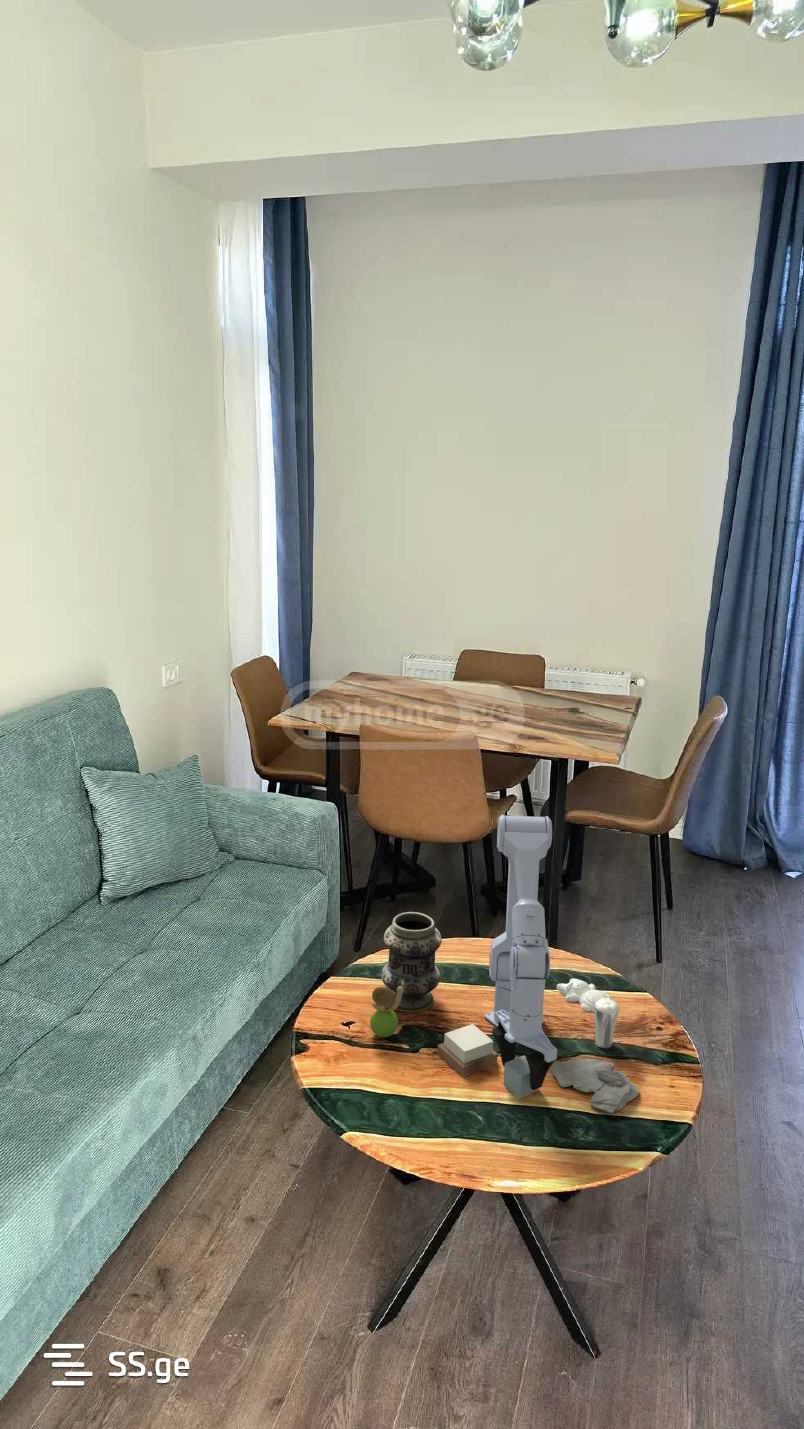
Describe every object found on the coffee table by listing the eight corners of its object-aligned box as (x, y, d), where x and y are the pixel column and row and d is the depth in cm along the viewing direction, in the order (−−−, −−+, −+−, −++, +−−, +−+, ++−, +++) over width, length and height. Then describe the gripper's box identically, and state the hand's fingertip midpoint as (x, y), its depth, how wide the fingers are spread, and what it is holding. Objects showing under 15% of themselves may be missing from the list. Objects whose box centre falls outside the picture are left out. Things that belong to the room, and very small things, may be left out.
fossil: (650, 1092, 169) (649, 1080, 169) (609, 1123, 163) (609, 1110, 162) (577, 1053, 182) (576, 1042, 181) (537, 1080, 175) (536, 1069, 175)
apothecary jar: (451, 999, 198) (454, 920, 193) (413, 1023, 189) (415, 941, 184) (407, 978, 205) (409, 902, 201) (368, 1000, 197) (370, 921, 192)
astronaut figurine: (580, 980, 207) (581, 968, 206) (620, 1007, 197) (621, 994, 197) (549, 991, 203) (550, 978, 202) (588, 1019, 193) (589, 1005, 192)
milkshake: (584, 1037, 186) (588, 991, 183) (611, 1036, 186) (615, 991, 184) (591, 1051, 182) (595, 1004, 179) (618, 1050, 182) (622, 1004, 179)
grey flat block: (470, 1043, 184) (471, 1032, 183) (496, 1065, 178) (497, 1053, 177) (437, 1056, 180) (437, 1045, 179) (462, 1079, 173) (463, 1067, 173)
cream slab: (472, 1035, 182) (472, 1024, 182) (492, 1053, 177) (493, 1041, 176) (444, 1045, 179) (444, 1033, 178) (464, 1063, 174) (464, 1051, 173)
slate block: (522, 1077, 174) (523, 1055, 172) (538, 1090, 170) (540, 1068, 169) (503, 1085, 171) (504, 1063, 170) (519, 1098, 167) (521, 1076, 166)
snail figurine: (399, 1045, 182) (401, 989, 179) (366, 1041, 183) (368, 985, 180) (405, 1029, 187) (407, 975, 184) (373, 1025, 188) (374, 970, 185)
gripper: (482, 995, 170) (479, 1062, 173) (536, 1035, 158) (531, 1106, 162) (513, 984, 174) (508, 1050, 177) (568, 1023, 162) (562, 1092, 166)
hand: (521, 1076), depth 170 cm, fingers open, 7 cm apart
